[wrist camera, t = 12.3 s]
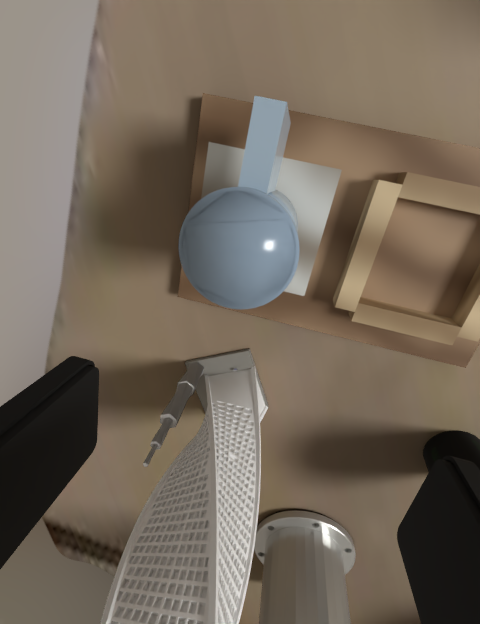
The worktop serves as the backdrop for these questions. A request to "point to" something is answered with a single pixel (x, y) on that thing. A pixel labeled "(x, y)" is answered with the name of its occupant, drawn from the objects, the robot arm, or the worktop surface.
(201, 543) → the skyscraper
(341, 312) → the board
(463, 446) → the cup
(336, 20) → the worktop surface
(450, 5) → the worktop surface
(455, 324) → the cradle
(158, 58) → the worktop surface
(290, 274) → the blue cylinder with tab
